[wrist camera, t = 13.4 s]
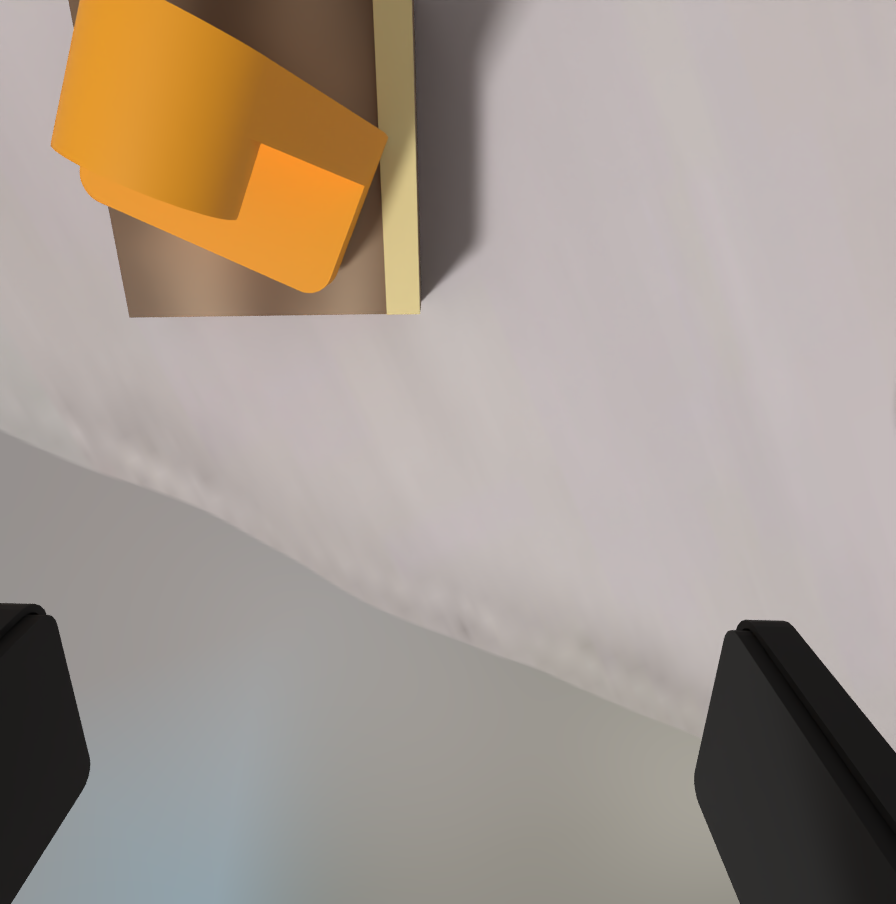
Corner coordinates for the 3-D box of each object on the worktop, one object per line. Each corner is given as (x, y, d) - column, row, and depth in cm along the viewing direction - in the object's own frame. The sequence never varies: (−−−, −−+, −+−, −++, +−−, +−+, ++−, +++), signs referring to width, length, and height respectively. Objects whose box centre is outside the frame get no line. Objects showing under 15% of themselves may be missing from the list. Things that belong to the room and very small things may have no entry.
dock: (413, -6, 29) (410, -38, 25) (421, 301, 34) (419, 314, 31) (108, -5, 29) (59, -37, 25) (162, 305, 34) (127, 318, 30)
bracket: (107, 192, 28) (-110, 185, 17) (148, 19, 26) (-73, -120, 15) (332, 292, 30) (266, 345, 19) (389, 138, 28) (354, 95, 17)
